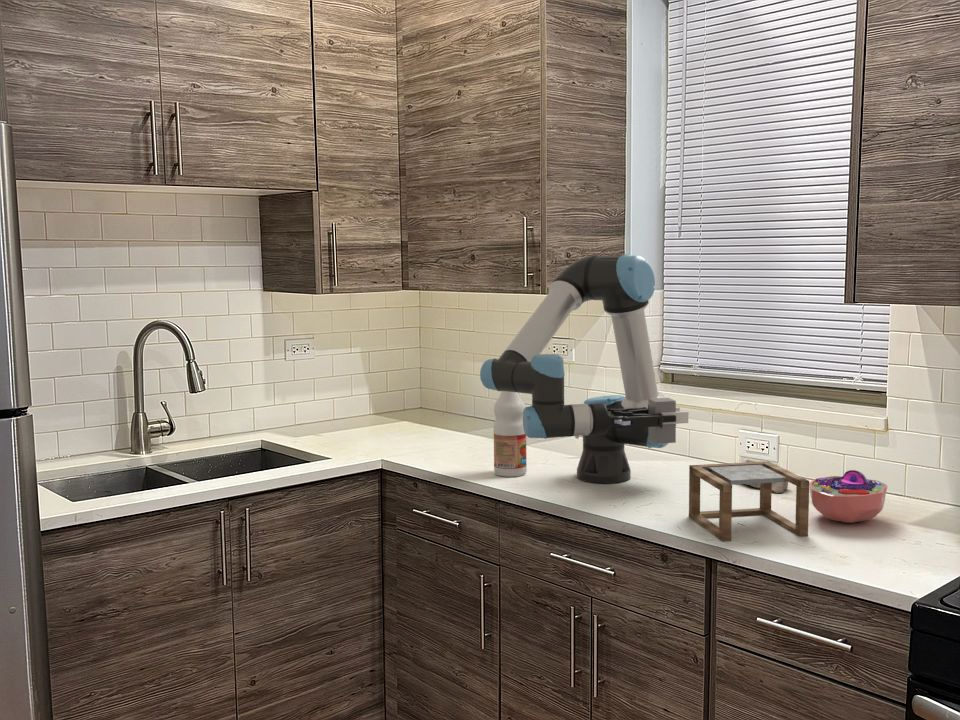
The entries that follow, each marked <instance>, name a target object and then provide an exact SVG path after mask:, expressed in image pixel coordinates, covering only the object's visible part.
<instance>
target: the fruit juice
mask: <svg viewBox="0 0 960 720" xmlns="http://www.w3.org/2000/svg"><path fill="white" fill-rule="evenodd" d="M525 407H526V403H525V402H524V400H523V399H522V398H521V396H520V394H519V392H507V391H500V394H499V397H497V400H496V401H495V402H494V406H493V413H494V416H495V421H494V424H493V471H494V474H495V475H497V476H499V477H504V478H516V477H522V476H524V475H526V473H527V436H526V435H525V432H524V429H523V410H524V408H525Z"/></svg>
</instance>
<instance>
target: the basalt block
mask: <svg viewBox="0 0 960 720" xmlns="http://www.w3.org/2000/svg"><path fill="white" fill-rule="evenodd" d="M676 407H677V400H675V399H672V398H669V397H664V398H651V399H648V414H659V413H662V412H676ZM676 429H677V424H663V428H660V427H659V426H657V427H648V440H650V441H652V442H653V443H655V444H660V443H668V444H675V443H676V442H677V441H676V440H677V439H676V437H677V435H676V434H677V432H676Z"/></svg>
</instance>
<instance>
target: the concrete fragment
mask: <svg viewBox="0 0 960 720" xmlns="http://www.w3.org/2000/svg"><path fill="white" fill-rule="evenodd" d="M745 462H756V461H754V460H750V459H747V460H745V461H744V463H745ZM746 485H748V486H751V487H753V488H756V489H760V483H755V484H746ZM788 488H789V482H788V481H786V482H774V483H772V492H773V493H775V494H779V493H780V494H782V493H784V492H785V491H786V490H788Z"/></svg>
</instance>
